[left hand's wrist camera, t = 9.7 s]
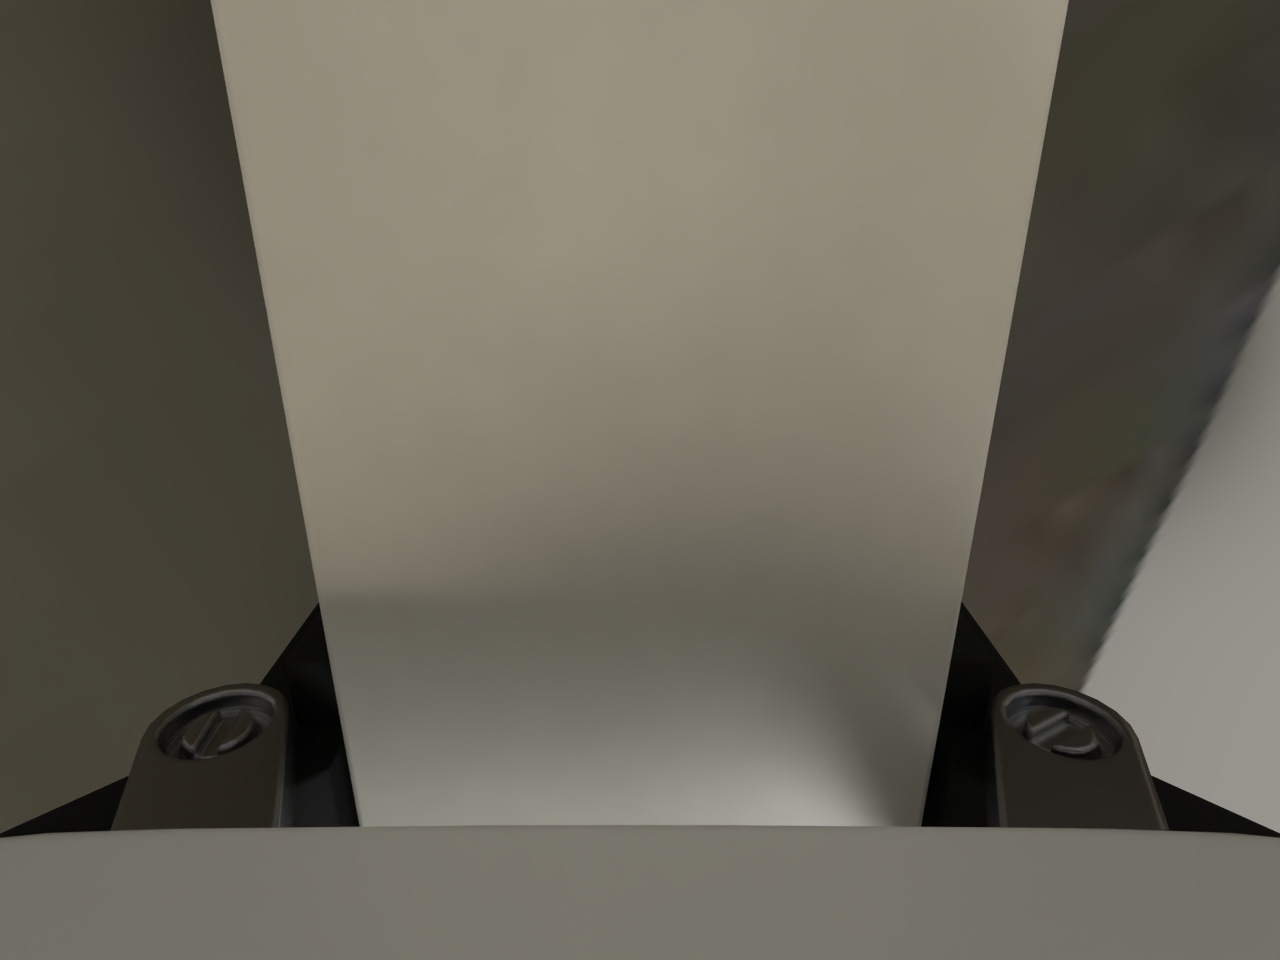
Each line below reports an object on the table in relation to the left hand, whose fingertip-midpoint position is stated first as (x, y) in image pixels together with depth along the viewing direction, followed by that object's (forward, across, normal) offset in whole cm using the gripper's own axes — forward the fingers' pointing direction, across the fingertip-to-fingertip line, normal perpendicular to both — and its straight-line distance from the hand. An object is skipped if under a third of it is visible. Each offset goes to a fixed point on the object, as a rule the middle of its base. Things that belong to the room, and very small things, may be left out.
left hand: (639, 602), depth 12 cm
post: (+1, 0, -25) cm, 25 cm away
